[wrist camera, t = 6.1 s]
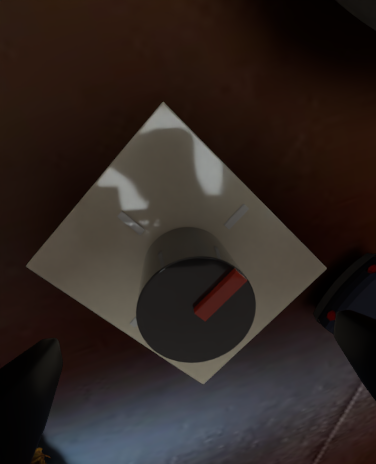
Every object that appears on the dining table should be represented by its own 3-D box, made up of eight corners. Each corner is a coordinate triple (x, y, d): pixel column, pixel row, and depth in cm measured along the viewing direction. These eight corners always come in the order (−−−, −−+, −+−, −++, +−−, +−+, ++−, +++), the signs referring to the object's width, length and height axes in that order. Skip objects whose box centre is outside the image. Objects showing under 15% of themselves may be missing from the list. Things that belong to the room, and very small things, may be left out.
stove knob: (188, 320, 14) (200, 388, 10) (124, 272, 13) (107, 327, 9) (245, 263, 13) (284, 311, 9) (184, 208, 12) (196, 233, 8)
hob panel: (50, 246, 15) (22, 267, 12) (162, 113, 14) (163, 100, 11) (196, 349, 18) (203, 387, 15) (299, 249, 17) (329, 269, 14)
